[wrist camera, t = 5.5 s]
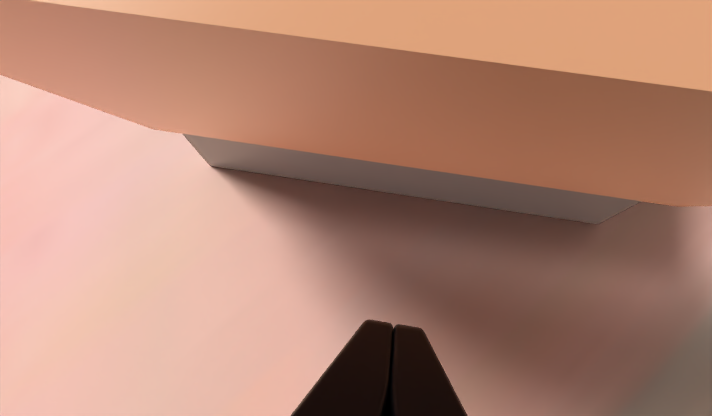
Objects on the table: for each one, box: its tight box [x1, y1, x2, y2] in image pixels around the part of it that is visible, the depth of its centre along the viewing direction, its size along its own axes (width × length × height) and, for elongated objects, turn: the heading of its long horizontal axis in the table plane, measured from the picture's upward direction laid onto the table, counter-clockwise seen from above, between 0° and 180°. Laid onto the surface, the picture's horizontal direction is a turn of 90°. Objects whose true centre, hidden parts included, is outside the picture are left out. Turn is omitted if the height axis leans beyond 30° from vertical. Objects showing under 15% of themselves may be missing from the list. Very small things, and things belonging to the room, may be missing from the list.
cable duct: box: [183, 134, 641, 224], centre depth 17 cm, size 9×14×4 cm, turn 81°
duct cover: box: [0, 0, 712, 207], centre depth 9 cm, size 10×14×1 cm
